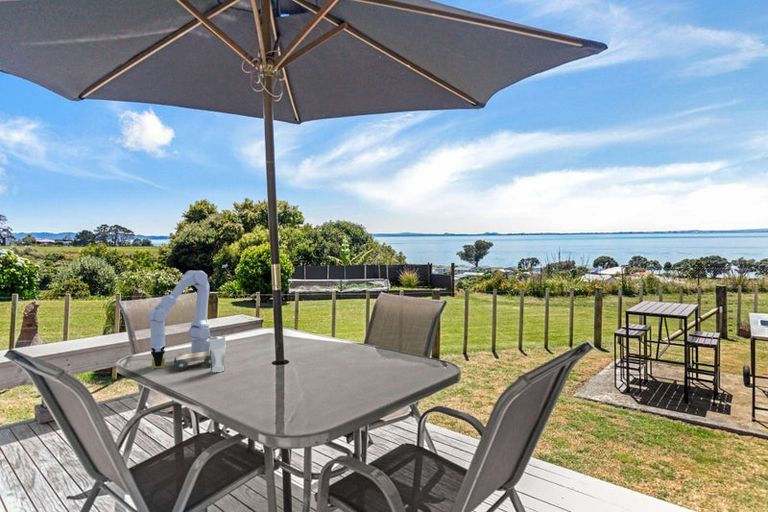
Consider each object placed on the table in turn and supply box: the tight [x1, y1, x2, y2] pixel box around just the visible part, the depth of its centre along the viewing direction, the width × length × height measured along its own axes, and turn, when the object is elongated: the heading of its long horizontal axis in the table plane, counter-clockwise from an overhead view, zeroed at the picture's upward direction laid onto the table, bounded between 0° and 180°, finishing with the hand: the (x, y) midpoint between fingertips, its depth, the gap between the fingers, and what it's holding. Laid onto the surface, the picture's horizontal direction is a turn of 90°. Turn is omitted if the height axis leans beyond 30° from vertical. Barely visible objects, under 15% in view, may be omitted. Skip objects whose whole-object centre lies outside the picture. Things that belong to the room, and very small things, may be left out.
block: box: [151, 355, 166, 370], centre depth 181 cm, size 5×4×4 cm
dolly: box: [173, 351, 211, 372], centre depth 182 cm, size 17×12×10 cm
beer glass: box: [208, 335, 227, 374], centre depth 173 cm, size 7×7×15 cm
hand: (158, 364), depth 181 cm, fingers open, 7 cm apart
